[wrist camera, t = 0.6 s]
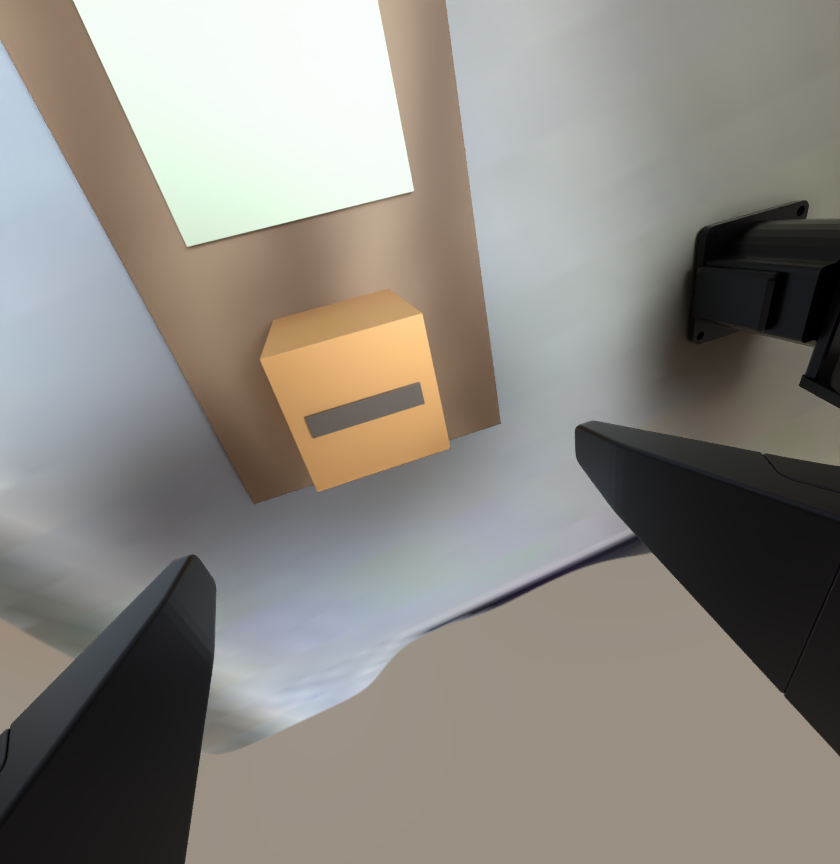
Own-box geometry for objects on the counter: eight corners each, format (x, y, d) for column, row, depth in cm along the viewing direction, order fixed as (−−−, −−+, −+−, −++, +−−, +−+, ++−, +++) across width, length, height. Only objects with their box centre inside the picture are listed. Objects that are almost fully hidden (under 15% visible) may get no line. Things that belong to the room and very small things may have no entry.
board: (409, -184, 13) (417, -214, 12) (493, 416, 24) (500, 423, 23) (-72, -122, 11) (-103, -150, 10) (256, 493, 22) (254, 504, 21)
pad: (345, -150, 12) (347, -161, 12) (411, 191, 16) (414, 191, 16) (28, -106, 11) (19, -117, 11) (189, 246, 15) (187, 246, 15)
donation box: (388, 288, 18) (423, 314, 13) (413, 392, 20) (451, 449, 15) (273, 320, 17) (259, 360, 12) (314, 423, 20) (317, 494, 15)
